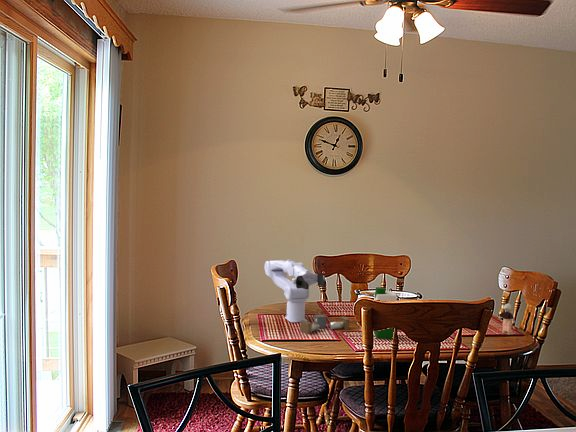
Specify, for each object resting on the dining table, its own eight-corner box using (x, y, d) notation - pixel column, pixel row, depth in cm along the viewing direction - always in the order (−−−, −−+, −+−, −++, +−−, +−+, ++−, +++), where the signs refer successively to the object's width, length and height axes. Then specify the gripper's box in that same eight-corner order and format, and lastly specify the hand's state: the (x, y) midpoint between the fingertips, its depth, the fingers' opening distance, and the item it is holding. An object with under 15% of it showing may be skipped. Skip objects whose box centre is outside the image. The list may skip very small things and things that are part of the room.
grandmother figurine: (517, 334, 246) (518, 304, 245) (513, 335, 243) (514, 305, 242) (499, 330, 251) (500, 301, 251) (495, 331, 249) (496, 302, 248)
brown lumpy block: (313, 328, 247) (313, 318, 247) (321, 331, 243) (321, 321, 243) (300, 331, 242) (300, 321, 242) (307, 334, 238) (308, 323, 238)
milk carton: (371, 333, 242) (373, 285, 240) (393, 333, 242) (394, 286, 241) (374, 339, 233) (376, 290, 232) (397, 339, 233) (399, 290, 232)
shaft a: (332, 330, 245) (333, 320, 244) (328, 327, 249) (328, 317, 249) (349, 329, 247) (349, 319, 247) (344, 326, 252) (344, 316, 252)
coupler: (313, 326, 252) (314, 314, 251) (322, 325, 253) (323, 314, 253) (317, 328, 248) (317, 317, 247) (326, 328, 249) (326, 316, 249)
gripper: (288, 268, 250) (300, 278, 238) (318, 265, 255) (332, 275, 243) (287, 284, 252) (300, 295, 240) (318, 280, 257) (331, 291, 245)
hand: (316, 286), depth 242 cm, fingers open, 7 cm apart
